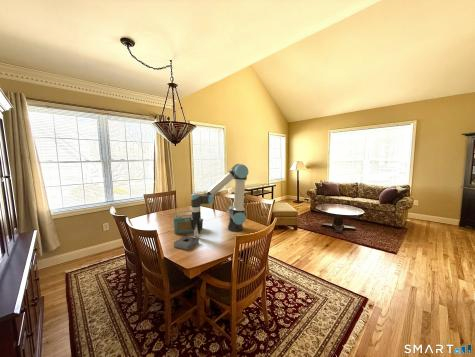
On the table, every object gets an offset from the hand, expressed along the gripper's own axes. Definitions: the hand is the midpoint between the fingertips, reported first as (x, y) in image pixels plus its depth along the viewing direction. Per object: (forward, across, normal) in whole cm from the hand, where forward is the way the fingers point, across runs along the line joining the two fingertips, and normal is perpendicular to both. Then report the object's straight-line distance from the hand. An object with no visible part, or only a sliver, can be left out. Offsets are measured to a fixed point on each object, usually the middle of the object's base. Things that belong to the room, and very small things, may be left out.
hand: (197, 236), depth 177 cm
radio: (+1, +19, -10) cm, 22 cm away
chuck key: (+1, 0, 0) cm, 1 cm away
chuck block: (+1, -1, +15) cm, 15 cm away
